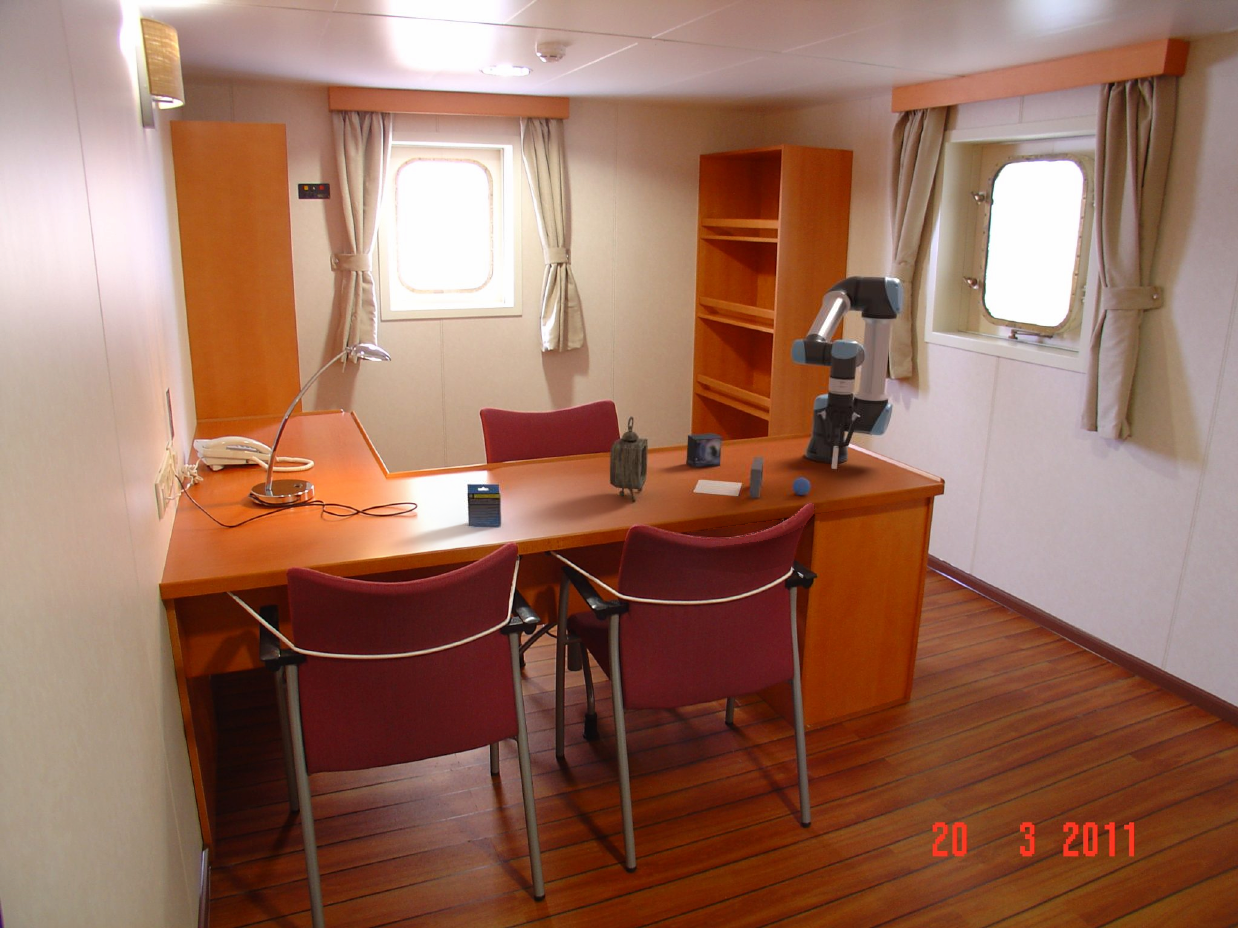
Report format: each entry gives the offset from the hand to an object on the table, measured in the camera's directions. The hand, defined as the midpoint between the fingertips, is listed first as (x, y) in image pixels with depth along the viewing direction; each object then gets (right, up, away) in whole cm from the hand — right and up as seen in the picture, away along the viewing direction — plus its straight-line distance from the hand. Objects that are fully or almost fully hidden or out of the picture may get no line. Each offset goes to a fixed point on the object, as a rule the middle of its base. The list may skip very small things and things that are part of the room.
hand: (834, 467), depth 275 cm
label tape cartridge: (-103, -16, -27) cm, 108 cm away
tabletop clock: (-63, -9, 0) cm, 64 cm away
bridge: (-23, -7, +8) cm, 25 cm away
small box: (-37, +1, +36) cm, 52 cm away
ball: (-9, -6, +4) cm, 12 cm away
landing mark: (-35, -7, +10) cm, 37 cm away
